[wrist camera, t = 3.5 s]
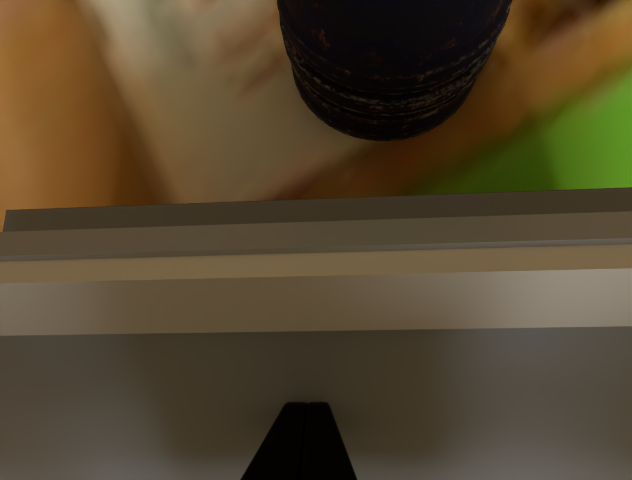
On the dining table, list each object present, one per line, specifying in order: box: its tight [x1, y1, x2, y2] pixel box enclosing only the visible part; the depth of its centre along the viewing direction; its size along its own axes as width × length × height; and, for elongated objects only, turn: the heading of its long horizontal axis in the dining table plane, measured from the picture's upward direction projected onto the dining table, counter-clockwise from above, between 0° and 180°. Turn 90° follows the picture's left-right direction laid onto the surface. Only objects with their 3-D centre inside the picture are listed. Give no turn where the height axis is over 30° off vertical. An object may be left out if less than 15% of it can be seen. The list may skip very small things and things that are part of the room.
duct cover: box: [0, 211, 632, 480], centre depth 10 cm, size 11×22×1 cm
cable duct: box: [3, 187, 632, 232], centre depth 17 cm, size 10×22×6 cm, turn 91°
